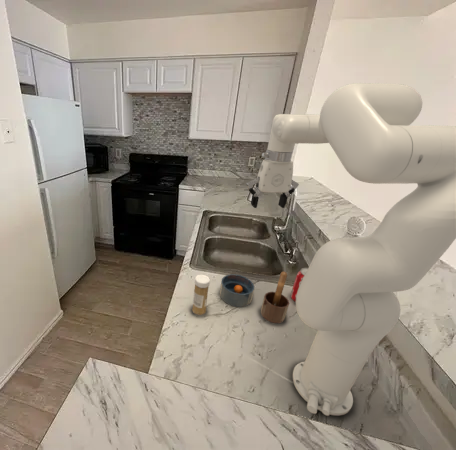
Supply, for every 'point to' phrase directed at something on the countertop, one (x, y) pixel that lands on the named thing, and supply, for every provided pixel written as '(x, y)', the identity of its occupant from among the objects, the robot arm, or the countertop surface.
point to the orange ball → (238, 289)
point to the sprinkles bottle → (200, 294)
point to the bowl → (233, 297)
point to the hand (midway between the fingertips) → (267, 206)
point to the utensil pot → (274, 308)
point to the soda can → (298, 282)
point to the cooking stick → (279, 288)
